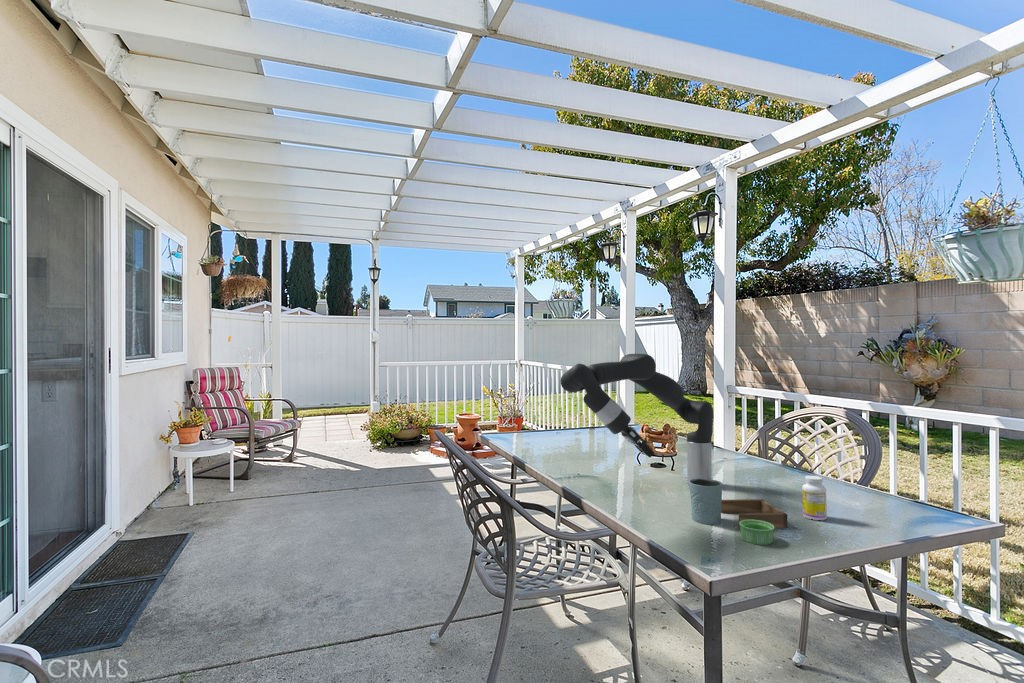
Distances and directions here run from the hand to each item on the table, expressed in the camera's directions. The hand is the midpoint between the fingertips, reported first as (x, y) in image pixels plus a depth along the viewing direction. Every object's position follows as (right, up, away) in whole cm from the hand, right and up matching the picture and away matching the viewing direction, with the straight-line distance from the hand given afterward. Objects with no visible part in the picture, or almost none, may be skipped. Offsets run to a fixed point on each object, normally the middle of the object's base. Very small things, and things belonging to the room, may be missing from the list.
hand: (647, 452), depth 160 cm
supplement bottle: (+54, -21, +2) cm, 58 cm away
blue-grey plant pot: (+19, -22, +1) cm, 29 cm away
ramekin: (+27, -21, -16) cm, 38 cm away
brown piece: (+33, -21, +1) cm, 39 cm away
